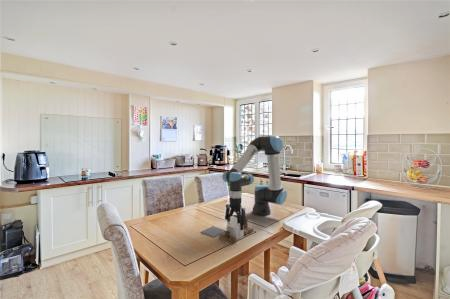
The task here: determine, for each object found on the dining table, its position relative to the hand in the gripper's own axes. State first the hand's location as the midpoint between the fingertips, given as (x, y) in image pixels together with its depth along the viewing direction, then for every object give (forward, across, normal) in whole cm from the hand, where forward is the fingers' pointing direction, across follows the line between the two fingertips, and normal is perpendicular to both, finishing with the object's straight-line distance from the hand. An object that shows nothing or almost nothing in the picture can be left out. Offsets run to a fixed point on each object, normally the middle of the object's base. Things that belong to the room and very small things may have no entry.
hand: (235, 232), depth 133 cm
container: (+2, 0, 0) cm, 2 cm away
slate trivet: (+2, -15, -4) cm, 16 cm away
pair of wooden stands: (+2, 0, +2) cm, 3 cm away
